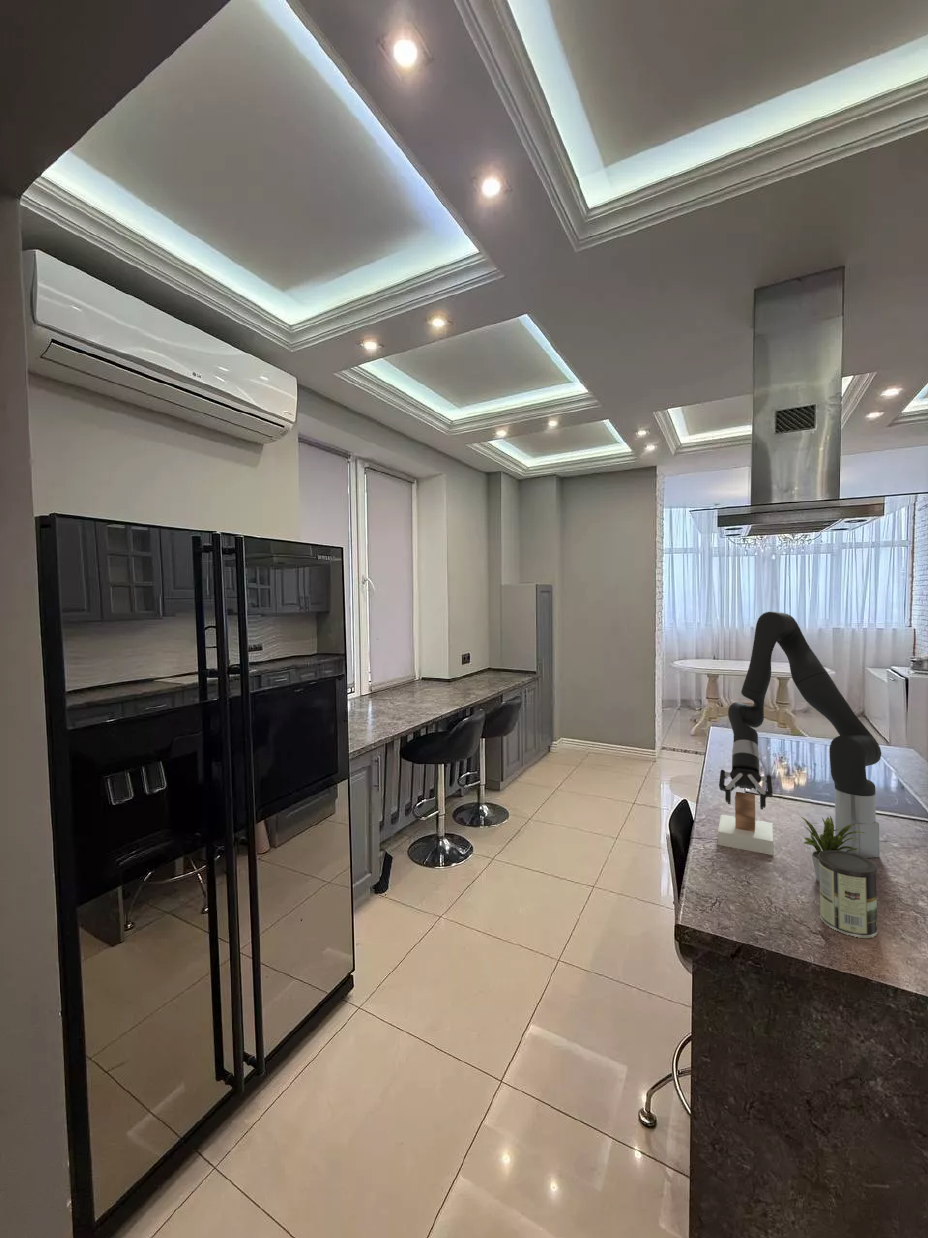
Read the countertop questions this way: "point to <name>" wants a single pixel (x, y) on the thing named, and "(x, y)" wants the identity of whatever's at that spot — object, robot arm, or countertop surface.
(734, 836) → the cream base
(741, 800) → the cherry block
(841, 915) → the coffee can
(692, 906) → the countertop surface
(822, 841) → the house plant
